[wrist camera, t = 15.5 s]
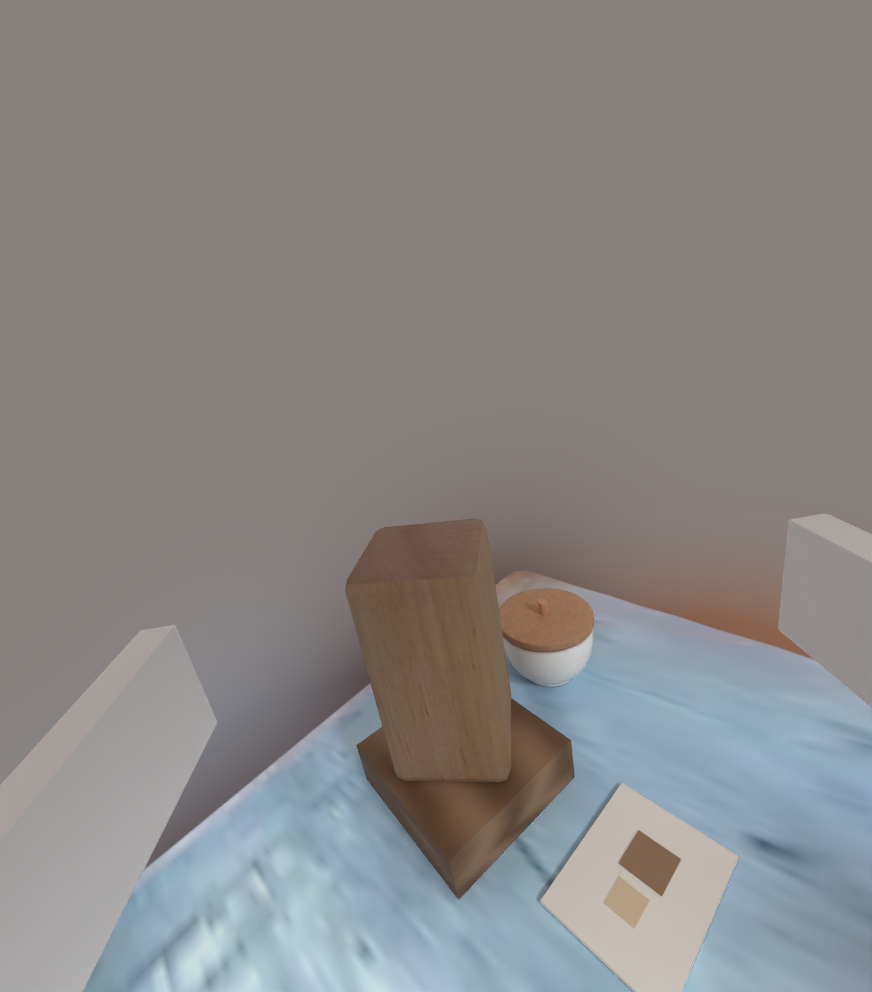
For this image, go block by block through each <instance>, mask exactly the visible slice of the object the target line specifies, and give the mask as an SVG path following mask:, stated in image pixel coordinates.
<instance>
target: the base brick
mask: <svg viewBox="0 0 872 992" xmlns="http://www.w3.org/2000/svg"><path fill="white" fill-rule="evenodd" d="M357 748H358V752H359V755H360V758H361V761H362V765H363V768H364V771H365V774H366V777H367V780H368V781H369V782H370V784H371V785H372V786H373V788H374V789H375V790H376V791H377V793H378V794H379V795H380V797H381V798H382V799H383V801H384V802H385V803H386V805H387V806H388V807H389V809H390V810H391V811H392V813H393V814H394V815H395V817H396V818H397V819H398V820H399V822H400V823H401V824H402V826H403V827H404V828H405V830H406V831H407V832H408V834H409V835H410V836H411V838H412V839H413V840H414V842H415V843H416V844H417V845H418V847H419V848H420V849H421V851H422V852H423V853H424V855H425V856H426V857H427V859H428V860H429V861H430V863H431V864H432V865H433V867H434V868H435V869H436V870H437V872H438V873H439V874H440V876H441V877H442V878H443V880H444V881H445V882H446V884H447V885H448V886H449V888H450V889H451V890H452V892H453V893H454V894H455V895H456V897H457V898H458V899H460V898H461V897H462V896H463V895H464V893H465V892H466V891H467V890H468V889H469V888H470V887H471V886H472V885H473V884H474V883H475V882H476V881H477V880H478V879H479V878H480V877H481V875H482V874H483V873H484V872H485V871H486V870H487V869H488V868H489V867H490V866H491V865H492V864H493V863H494V862H495V861H496V860H497V859H498V857H499V856H500V855H501V854H502V853H503V852H504V851H505V850H506V849H507V848H508V847H509V846H510V845H511V844H512V843H513V842H514V841H515V839H516V838H517V837H518V836H519V835H520V834H521V833H522V832H523V831H524V830H525V829H526V828H527V827H528V826H529V825H530V824H531V823H532V821H533V820H534V819H535V818H536V817H537V816H538V815H539V814H540V813H541V812H542V811H543V810H544V809H545V808H546V807H547V806H548V805H549V803H550V802H551V801H552V800H553V799H554V798H555V797H556V796H557V795H558V794H559V793H560V792H561V791H562V790H563V789H564V788H565V787H566V785H567V784H568V783H569V782H570V781H571V780H572V779H573V778H574V768H573V757H572V746H571V740H570V739H568V738H567V737H565V736H564V735H563V734H561V733H560V732H558V731H557V730H555V729H554V728H553V727H551V726H550V725H548V724H547V723H546V722H544V721H543V720H541V719H540V718H538V717H537V716H536V715H534V714H533V713H531V712H530V711H528V710H527V709H526V708H524V707H523V706H521V705H520V704H518V703H517V702H516V701H514V700H513V699H511V770H510V773H509V775H508V778H507V780H505V781H502V782H447V781H405V780H402V779H400V778H398V777H397V775H396V773H395V770H394V766H393V762H392V759H391V755H390V751H389V748H388V744H387V740H386V737H385V733H384V730H383V727H381V728H380V729H379V730H377V731H376V732H375V733H373V734H372V735H370V736H369V737H368V738H366V739H365V740H363V741H362V742H361V743H359V744H358V745H357Z"/></svg>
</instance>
